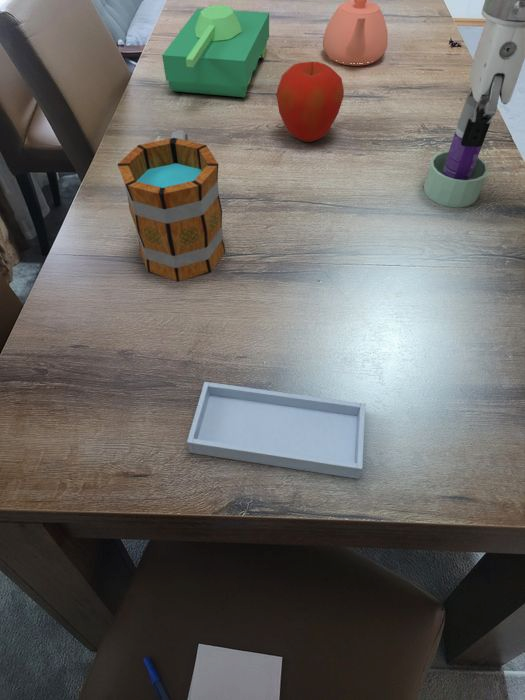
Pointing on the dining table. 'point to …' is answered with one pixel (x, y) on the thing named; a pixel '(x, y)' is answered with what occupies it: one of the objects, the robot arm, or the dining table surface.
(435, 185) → the bowl
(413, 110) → the dining table surface
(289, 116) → the apple
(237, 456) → the tray
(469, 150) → the container
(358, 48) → the teapot
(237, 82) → the toy tank
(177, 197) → the mug
